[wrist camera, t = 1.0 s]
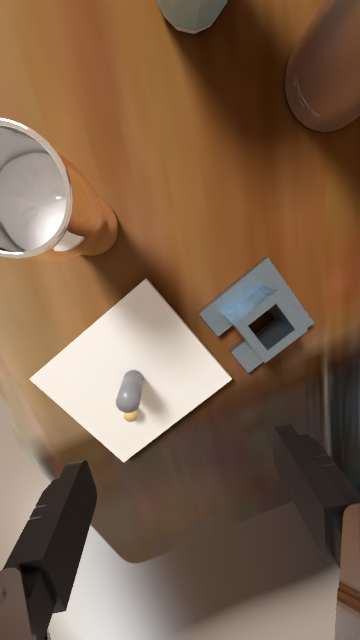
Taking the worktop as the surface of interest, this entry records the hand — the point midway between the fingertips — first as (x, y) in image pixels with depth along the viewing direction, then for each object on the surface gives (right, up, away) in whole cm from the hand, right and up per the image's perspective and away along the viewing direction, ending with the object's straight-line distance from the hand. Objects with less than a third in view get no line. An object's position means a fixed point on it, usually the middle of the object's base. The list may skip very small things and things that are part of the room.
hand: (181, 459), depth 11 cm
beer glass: (-10, +16, +17) cm, 25 cm away
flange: (+9, +6, +20) cm, 23 cm away
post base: (-6, -1, +21) cm, 22 cm away
